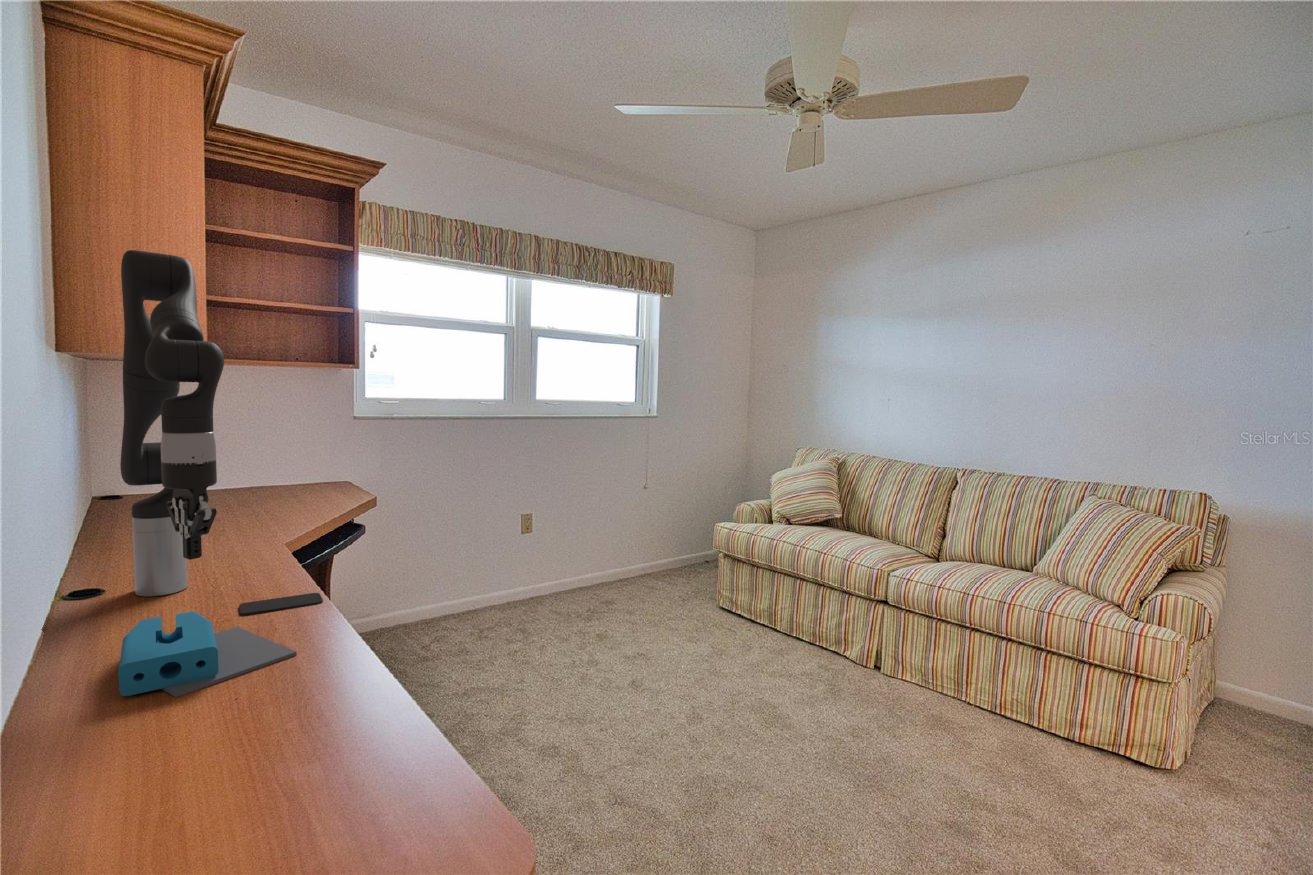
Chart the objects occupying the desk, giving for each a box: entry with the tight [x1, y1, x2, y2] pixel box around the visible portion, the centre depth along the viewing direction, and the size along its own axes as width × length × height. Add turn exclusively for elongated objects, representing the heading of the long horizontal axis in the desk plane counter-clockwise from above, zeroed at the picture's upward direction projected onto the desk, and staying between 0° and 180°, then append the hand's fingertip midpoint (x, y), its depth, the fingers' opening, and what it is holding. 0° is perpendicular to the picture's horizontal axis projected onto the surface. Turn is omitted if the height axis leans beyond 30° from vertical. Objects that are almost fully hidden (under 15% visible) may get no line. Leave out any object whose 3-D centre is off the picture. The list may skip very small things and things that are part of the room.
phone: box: [238, 592, 324, 617], centre depth 133 cm, size 7×1×15 cm
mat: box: [161, 626, 298, 698], centre depth 106 cm, size 20×18×1 cm
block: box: [118, 611, 219, 697], centre depth 103 cm, size 12×5×20 cm
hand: (192, 557), depth 108 cm, fingers closed
